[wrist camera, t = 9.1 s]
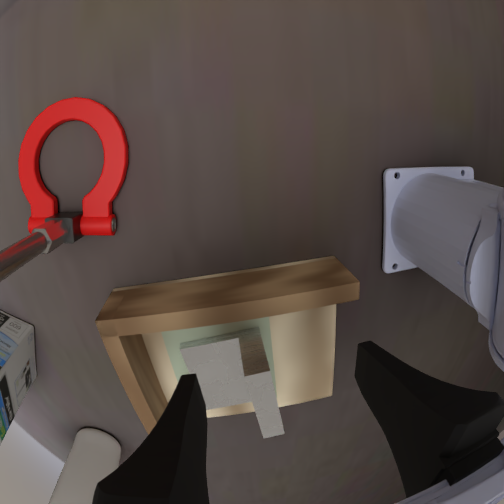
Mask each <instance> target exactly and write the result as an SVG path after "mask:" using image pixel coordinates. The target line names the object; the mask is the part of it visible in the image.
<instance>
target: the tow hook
mask: <svg viewBox="0 0 504 504" xmlns="http://www.w3.org/2000/svg"><path fill="white" fill-rule="evenodd" d="M74 120H78V121H83V122H85V123H87V124H89V125H90V126H91V127H92V128H93V129H94V130H95V131H96V132H97V134H98V135H99V137H100V139H101V141H102V145H103V149H104V165H103V170H102V174H101V176H100V178H99V180H98V182H97V184H96V185H95V187H94V188H93V189H92V190H91V192H90V193H88V194H87V195H86V196H84V198H83V200H82V206H83V212H74V213H58V204H57V199H56V197H55V196H54V195H52V194H51V193H50V192H49V191H48V190H47V189H46V187H45V186H44V184H43V182H42V180H41V177H40V173H39V155H40V150H41V148H42V145H43V143H44V141H45V139H46V138H47V136H48V135H49V134H50V132H51V131H52V130H54V129H55V128H56V127H57V126H59V125H61V124H63V123H65V122H67V121H74ZM18 162H19V178H20V182H21V186H22V190H23V192H24V194H25V196H26V198H27V200H28V202H29V203H30V205H31V216H30V218H29V221H28V230H29V232H30V234H31V235H29V236H27V237H25V238H23V239H21V240H20V241H18V242H16V243H14V244H12V245H10V246H9V247H7V248H5V249H3V250H1V251H0V282H1V281H2V280H4V279H5V278H7V277H8V276H9V275H11V274H12V273H13V272H15V271H16V270H18V269H19V268H20V267H22V266H23V265H25V264H26V263H28V262H29V261H30V260H32V259H33V258H35V257H36V256H38V255H39V254H48V253H50V252H51V251H53V250H54V249H56V248H57V247H59V246H60V245H61V244H63V243H74V242H75V241H77V240H78V239H80V238H81V237H83V236H84V235H112V236H113V235H114V234H115V232H116V216H115V215H114V214H112V201H113V200H114V199H115V198H116V196H117V195H118V193H119V191H120V189H121V187H122V185H123V182H124V180H125V176H126V172H127V167H128V143H127V139H126V135H125V131H124V129H123V127H122V125H121V124H120V122H119V120H118V118H117V117H116V116H115V115H114V114H113V113H112V112H111V111H110V110H109V109H108V108H107V107H106V106H104V105H102V104H100V103H98V102H95V101H93V100H91V99H86V98H78V97H74V98H69V99H64V100H60V101H58V102H56V103H54V104H52V105H50V106H49V107H47V108H46V109H45V110H44V111H43V112H42V113H40V114H39V115H38V116H37V117H36V118H35V120H34V121H33V123H32V124H31V126H30V127H29V128H28V130H27V132H26V135H25V137H24V139H23V142H22V144H21V149H20V154H19V160H18Z"/></svg>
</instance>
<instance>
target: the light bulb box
mask: <svg viewBox="0 0 504 504" xmlns="http://www.w3.org/2000/svg"><path fill="white" fill-rule="evenodd" d="M36 377H37V372H36V361H35V343H34V327H33V326H32V325H30V324H28V323H26V322H23V321H21V320H19V319H17V318H15V317H13V316H11V315H9V314H7V313H5V312H3V311H1V310H0V444H1V442H2V440H3V438H4V436H5V434H6V432H7V430H8V428H9V426H10V424H11V422H12V420H13V418H14V416H15V414H16V412H17V411H18V409H19V407H20V405H21V403H22V401H23V399H24V398H25V396H26V394H27V392H28V390H29V389H30V387H31V385H32V383H33V382H34V380H35V378H36Z"/></svg>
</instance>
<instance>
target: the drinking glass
mask: <svg viewBox="0 0 504 504" xmlns="http://www.w3.org/2000/svg"><path fill="white" fill-rule="evenodd" d="M120 456H121V447H120V444H119V443H118V441H117V440H116V439H115V438H114V437H112V436H111V435H109V434H107V433H106V432H103V431H101V430H98V429H93V428H85V429H81V430H80V431H78V432H77V434H76V436H75V439H74V442H73V445H72V448H71V450H70V453H69V455H68V457H67V460H66V462H65V464H64V467H63V469H62V472H61V474H60V476H59V479H58V481H57V484H56V486H55V489H54V491H53V494H52V496H51V499H50V502H49V504H92V501H93V496H94V491H95V489H96V486H97V483H98V482H99V481H101V480H102V479H104V478H105V477H106V476H108V475H109V474H111V473H112V472H113V471H115V470H116V469H117V468H118V467H119V461H120Z"/></svg>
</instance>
